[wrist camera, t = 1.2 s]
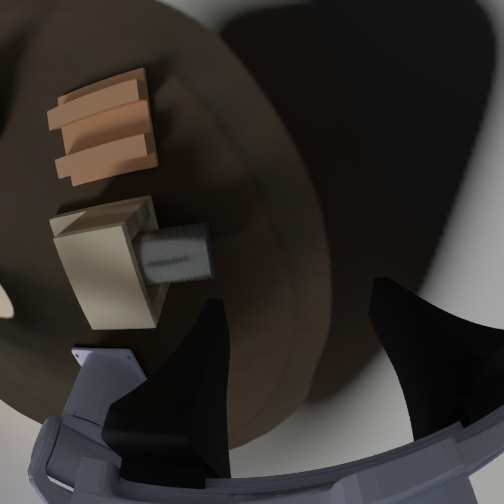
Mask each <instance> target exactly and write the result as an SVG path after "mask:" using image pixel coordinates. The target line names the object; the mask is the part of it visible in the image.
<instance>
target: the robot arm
mask: <svg viewBox="0 0 504 504" xmlns="http://www.w3.org/2000/svg"><path fill="white" fill-rule="evenodd" d="M368 314H369V317H370V320H371V322H372V325H373V328H374V330H375V332H376V334H377V336H378V338H379V340H380V342H381V344H382V346H383V347H384V350H385V351H386V353H387V355H388V357H389V359H390V361H391V363H392V365H393V366H394V369H395V371H396V373H397V376H398V379H399V382H400V385H401V388H402V390H403V394H404V397H405V401H406V404H407V408H408V412H409V416H410V421H411V426H412V432H413V438H414V442H411V443H409V444H406V445H404V446H401V447H398V448H395V449H393V450H389V451H387V452H383V453H380V454H377V455H374V456H371V457H367V458H364V459H360V460H357V461H352V462H349V463H345V464H341V465H336V466H331V467H327V468H322V469H316V470H311V471H305V472H299V473H292V474H284V475H276V476H267V477H253V478H231V473H230V462H229V449H228V434H227V411H226V395H227V383H228V371H229V360H230V338H229V329H228V325H227V320H226V315H225V310H224V305H223V300H222V298H219V299H209V300H207V301H206V303H205V305H204V307H203V309H202V311H201V312H200V314H199V316H198V318H197V319H196V321H195V323H194V324H193V326H192V327H191V329H190V331H189V332H188V334H187V335H186V336H185V338H184V339H183V341H182V342H181V343H180V345H179V346H178V347H177V349H176V350H175V351H174V352H173V353H172V355H171V356H170V357H169V358H168V359H167V360H166V361H165V363H164V364H163V365H162V366H161V367H160V368H159V369H158V370H156V371H155V372H154V373H153V374H152V375H151V376H150V377H149V378H148V379H147V378H146V376H145V374H144V373H143V371H142V369H141V367H140V365H139V364H138V362H137V360H136V358H135V356H134V354H133V352H132V351H131V350H129V349H103V348H76V347H74V348H72V353H73V355H74V356H75V358H76V359H77V361H78V362H79V364H80V365H81V369H80V372H79V374H78V376H77V379H76V381H75V383H74V385H73V388H72V390H71V393H70V395H69V398H68V400H67V402H66V405H65V408H64V410H63V413H62V415H61V417H60V418H58V417H56V416H52V417H48V418H47V419H46V420H45V422H44V424H43V426H42V428H41V430H40V432H39V434H38V437H37V439H36V442H35V445H34V448H33V451H32V455H31V462H30V465H29V468H28V475H29V481H30V483H31V485H32V487H33V488H34V489H35V491H36V492H37V494H38V495H39V496H40V498H41V499H42V500H43V501H44V503H45V504H478V503H477V500H476V497H475V494H474V491H473V488H472V486H471V483H470V480H469V478H468V477H469V476H470V475H472V474H473V473H475V472H476V471H478V470H479V469H481V468H482V467H484V466H485V465H487V464H488V463H490V462H491V461H492V460H494V459H495V458H497V457H498V456H499V455H501V454H502V453H503V452H504V330H502V329H496V328H491V327H487V326H483V325H480V324H476V323H473V322H470V321H467V320H465V319H462V318H459V317H457V316H455V315H452V314H450V313H448V312H446V311H444V310H442V309H439V308H438V307H436V306H434V305H432V304H431V303H429V302H427V301H425V300H424V299H422V298H420V297H418V296H417V295H415V294H414V293H412V292H411V291H409V290H407V289H406V288H404V287H403V286H401V285H399V284H398V283H396V282H394V281H393V280H391V279H389V278H387V277H380V278H374V282H373V288H372V295H371V301H370V307H369V313H368ZM47 475H48V476H50V477H52V478H54V479H55V480H58V481H59V482H61V483H63V484H66V485H68V486H70V487H72V488H74V491H73V492H72V491H70V490H68V489H65V488H63V487H61V486H59V485H57V484H55V483H53V482H52V481H50V480H49V478H48V477H47ZM278 495H281V496H278Z"/></svg>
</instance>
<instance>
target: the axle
mask: <svg viewBox="0 0 504 504" xmlns="http://www.w3.org/2000/svg"><path fill="white" fill-rule="evenodd" d="M131 244H132V247H133V251H134V254H135V257H136V260H137V264H138V267H139V270H140V273H141V276H142V279H143V282H144V285H156V284H167V283H177V282H187V281H197V280H207V279H214V277H215V254H214V245H213V239H212V234H211V230H210V226H209V224H208V223H207V222H205V223H198V224H190V225H183V226H175V227H168V228H161V229H154V230H147V231H140V232H138V233H137V234H136V235H135V237H134V238H133V239H132V241H131Z"/></svg>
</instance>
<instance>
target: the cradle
mask: <svg viewBox="0 0 504 504" xmlns="http://www.w3.org/2000/svg"><path fill="white" fill-rule="evenodd" d="M58 104H59V106H58V107H56V108H54V109H52V110H50V111H47V115H48V122H49V129H50V130H54V129H59V128H62V134H63V140H64V145H65V151H66V156H65V157H62V158H59V159H56V160H55V163H56V168H57V172H58V177H59V179H61V178H64V177H67V176H70V175H71V179H72V184H73V186H76V185H79V184H83V183H87V182H91V181H95V180H98V179H102V178H106V177H111V176H115V175H119V174H123V173H128V172H133V171H137V170H142V169H147V168H152V167H157V166H158V165H159V163H158V157H157V151H156V145H155V139H154V133H153V126H152V119H151V112H150V105H149V97H148V89H147V80H146V70H145V68H140V69H136V70H133V71H129V72H126V73H123V74H120V75H117V76H114V77H111V78H108V79H105V80H102V81H99V82H96V83H94V84H91V85H88V86H86V87H83V88H81V89H78V90H76V91H73V92H71V93H69V94H66V95H64V96H62V97H60V98H58Z"/></svg>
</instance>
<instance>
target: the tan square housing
mask: <svg viewBox="0 0 504 504" xmlns="http://www.w3.org/2000/svg"><path fill="white" fill-rule="evenodd" d="M49 221H50V224H51V227H52V230H53V233H54V236H55V237H54V238H53V239H54V242H55V245H56V248H57V251H58V253H59V256H60V259H61V261H62V264H63V266H64V269H65V271H66V274H67V276H68V278H69V281H70V283H71V285H72V288H73V290H74V292H75V294H76V297H77V299H78V301H79V303H80V305H81V307H82V309H83V311H84V313H85V315H86V317H87V319H88V321H89V323H90V325H91V327H92V329H140V328H156V326H157V323H158V319H159V316H160V313H161V310H162V307H163V304H164V301H165V298H166V295H167V292H168V289H169V286H170V283H167V284H156V285H144V282H143V279H142V276H141V273H140V270H139V267H138V264H137V260H136V257H135V254H134V251H133V247H132V244H131V241H132V239H133V238H134V237H135V235H136V234H137V233H138V232H140V231H147V230H154V229H158V224H157V220H156V216H155V211H154V207H153V202H152V198H151V195H148V196H143V197H137V198H132V199H127V200H122V201H117V202H112V203H107V204H102V205H97V206H93V207H88V208H84V209H80V210H75V211H71V212H67V213H63V214H59V215H55V216H54V217H52V218H51V219H50V220H49Z"/></svg>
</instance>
